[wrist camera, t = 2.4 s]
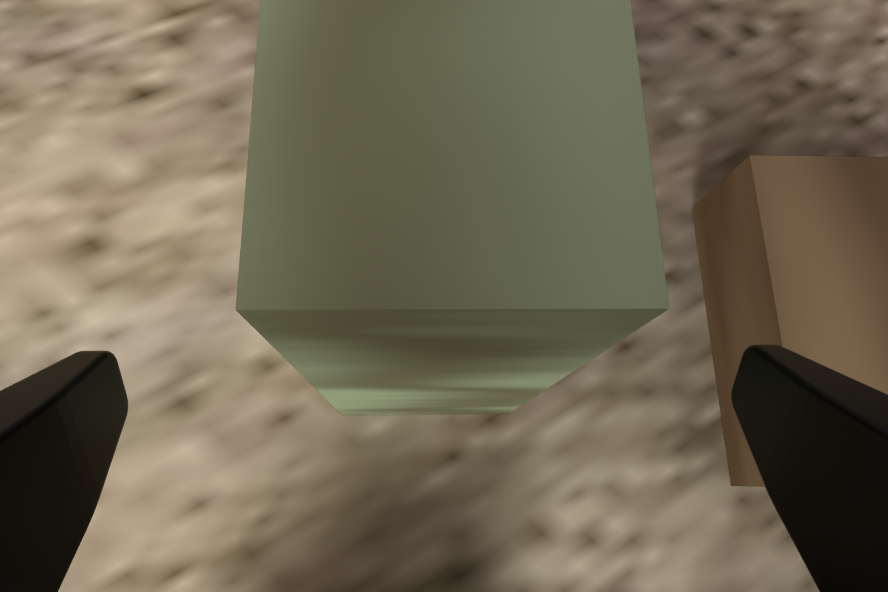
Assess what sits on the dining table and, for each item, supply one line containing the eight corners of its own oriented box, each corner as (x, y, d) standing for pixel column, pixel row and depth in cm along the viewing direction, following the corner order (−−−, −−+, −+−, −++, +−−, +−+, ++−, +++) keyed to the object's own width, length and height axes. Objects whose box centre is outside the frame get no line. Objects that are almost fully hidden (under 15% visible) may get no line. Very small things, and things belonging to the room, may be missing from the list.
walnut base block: (936, 215, 22) (1048, 159, 18) (1004, 480, 19) (1152, 481, 16) (687, 213, 21) (749, 155, 18) (725, 485, 19) (807, 487, 15)
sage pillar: (501, 258, 20) (626, -35, 9) (509, 413, 19) (669, 308, 7) (347, 257, 20) (264, -47, 8) (342, 415, 18) (236, 309, 7)
